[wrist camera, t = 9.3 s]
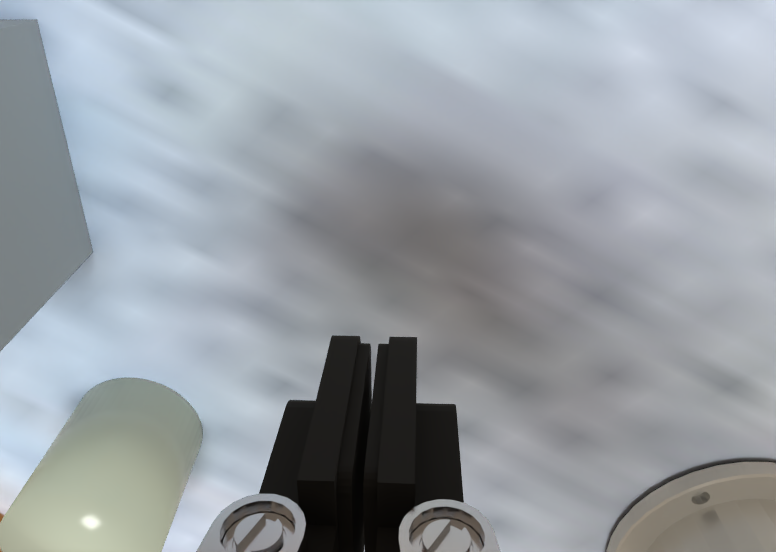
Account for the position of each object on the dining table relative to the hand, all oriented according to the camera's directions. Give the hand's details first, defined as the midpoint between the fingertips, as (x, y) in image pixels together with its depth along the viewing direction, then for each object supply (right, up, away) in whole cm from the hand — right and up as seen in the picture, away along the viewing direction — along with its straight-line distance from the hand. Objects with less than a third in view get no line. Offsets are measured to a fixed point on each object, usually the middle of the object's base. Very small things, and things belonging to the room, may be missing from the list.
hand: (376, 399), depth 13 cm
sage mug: (-12, -6, +19) cm, 23 cm away
